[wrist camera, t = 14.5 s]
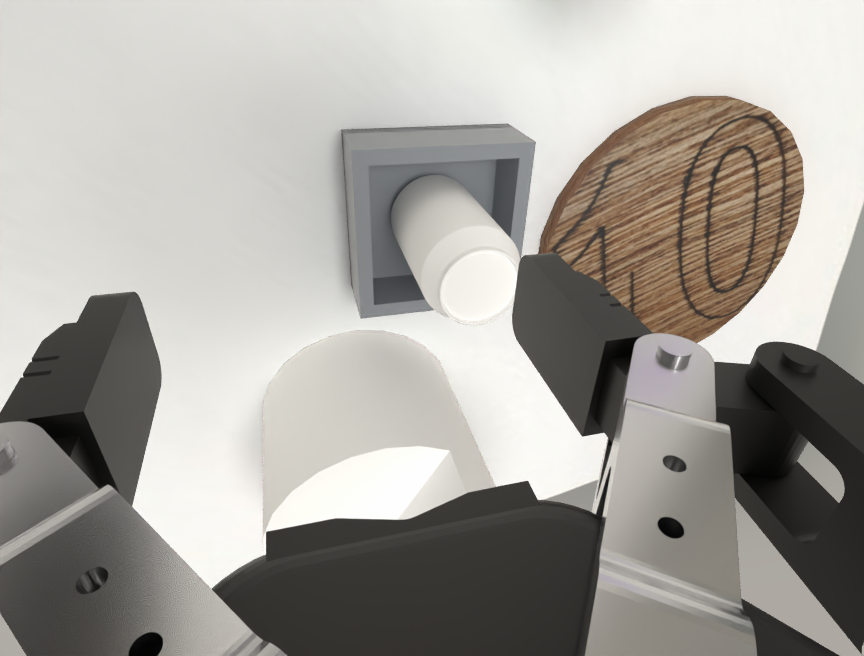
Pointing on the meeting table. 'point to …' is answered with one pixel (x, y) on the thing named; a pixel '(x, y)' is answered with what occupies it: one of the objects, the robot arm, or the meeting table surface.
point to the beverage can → (455, 250)
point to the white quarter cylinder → (364, 434)
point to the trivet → (683, 212)
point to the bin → (407, 161)
